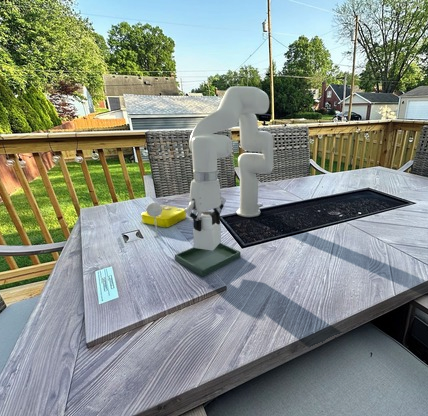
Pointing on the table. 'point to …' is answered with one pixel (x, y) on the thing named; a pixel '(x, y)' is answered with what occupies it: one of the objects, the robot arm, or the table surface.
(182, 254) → the tray
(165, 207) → the yellow flat block
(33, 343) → the table surface
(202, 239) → the medicine bottle
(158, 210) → the lollipop
